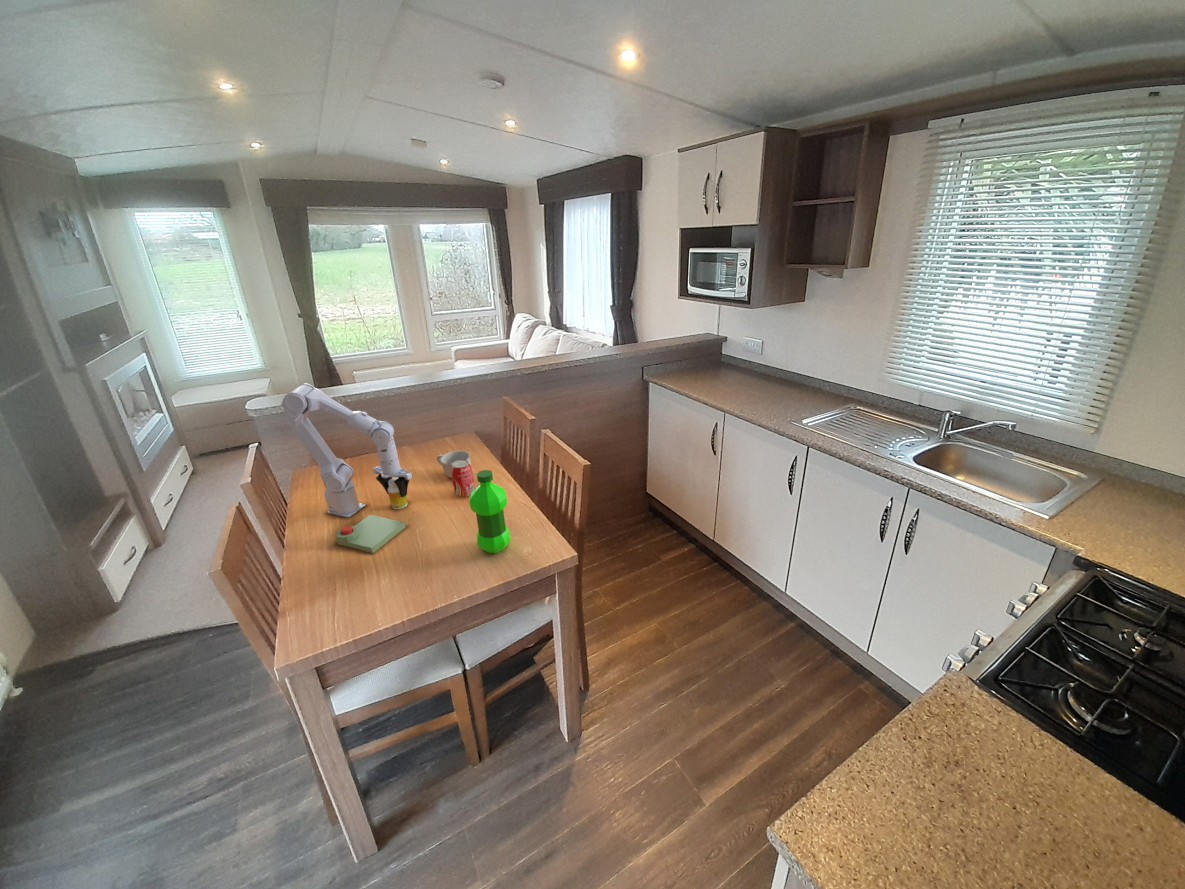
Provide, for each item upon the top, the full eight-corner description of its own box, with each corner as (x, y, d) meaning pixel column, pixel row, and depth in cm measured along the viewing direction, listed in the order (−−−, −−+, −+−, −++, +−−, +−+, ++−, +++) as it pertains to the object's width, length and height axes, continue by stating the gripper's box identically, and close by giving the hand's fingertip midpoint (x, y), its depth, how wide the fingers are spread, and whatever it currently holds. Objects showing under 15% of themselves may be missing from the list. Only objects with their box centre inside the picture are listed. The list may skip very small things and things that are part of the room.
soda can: (456, 488, 173) (451, 459, 168) (476, 487, 173) (472, 458, 168) (453, 499, 167) (448, 468, 161) (473, 497, 167) (469, 467, 162)
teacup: (478, 472, 184) (475, 453, 181) (457, 484, 176) (454, 465, 172) (453, 464, 191) (450, 446, 187) (432, 475, 183) (428, 457, 179)
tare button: (339, 534, 144) (338, 530, 143) (347, 528, 146) (346, 524, 146) (347, 536, 143) (345, 532, 142) (354, 530, 145) (353, 526, 145)
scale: (334, 544, 144) (331, 535, 143) (370, 519, 157) (368, 510, 155) (371, 554, 140) (369, 544, 138) (405, 527, 152) (403, 518, 150)
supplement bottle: (402, 510, 161) (396, 485, 157) (388, 508, 162) (382, 484, 158) (411, 501, 166) (405, 477, 162) (397, 500, 167) (391, 476, 163)
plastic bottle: (518, 550, 139) (509, 475, 129) (484, 563, 134) (472, 486, 124) (505, 533, 147) (495, 461, 137) (472, 545, 142) (459, 471, 132)
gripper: (362, 460, 155) (371, 496, 161) (397, 467, 150) (406, 503, 156) (378, 451, 161) (386, 486, 167) (412, 457, 156) (420, 493, 162)
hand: (397, 494), depth 162 cm, fingers closed on supplement bottle, 5 cm apart
